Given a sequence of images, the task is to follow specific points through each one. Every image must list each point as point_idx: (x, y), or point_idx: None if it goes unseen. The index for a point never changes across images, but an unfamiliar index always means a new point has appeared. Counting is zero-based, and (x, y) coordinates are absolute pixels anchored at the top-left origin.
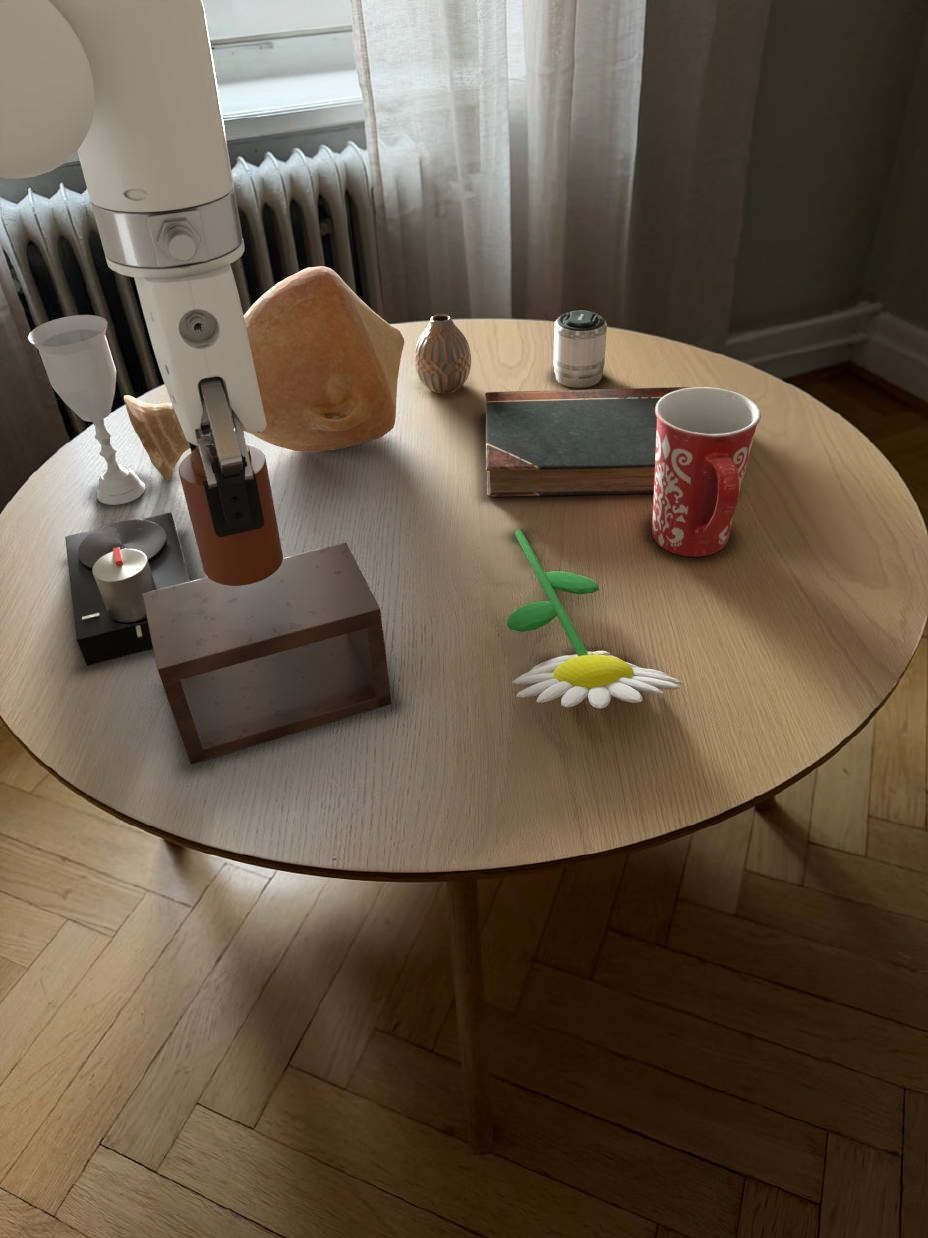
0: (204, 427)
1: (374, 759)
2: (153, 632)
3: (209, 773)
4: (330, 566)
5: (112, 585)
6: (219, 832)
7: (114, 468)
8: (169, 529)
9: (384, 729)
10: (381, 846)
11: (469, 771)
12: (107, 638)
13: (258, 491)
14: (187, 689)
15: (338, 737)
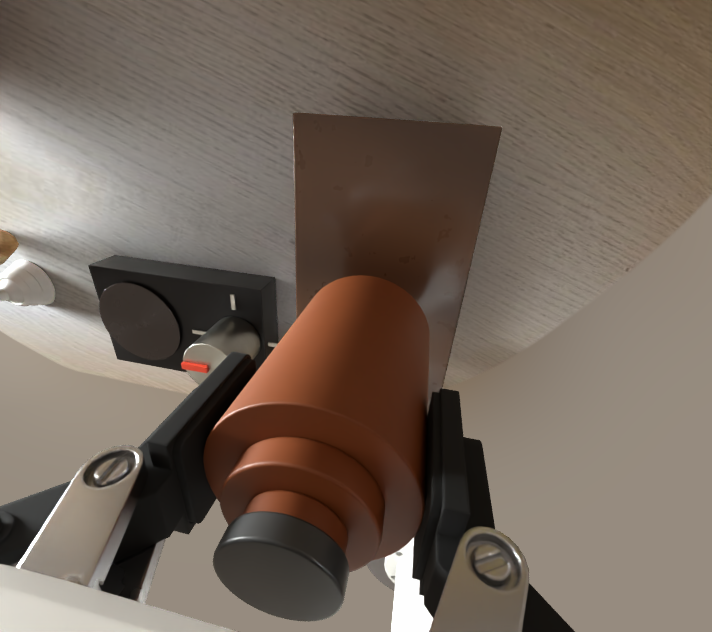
0: (168, 523)
1: (541, 184)
2: None
3: None
4: (346, 166)
5: None
6: (522, 339)
7: (5, 295)
8: (120, 276)
9: (507, 154)
10: (652, 224)
11: (645, 77)
12: None
13: (464, 460)
14: None
15: (485, 208)
